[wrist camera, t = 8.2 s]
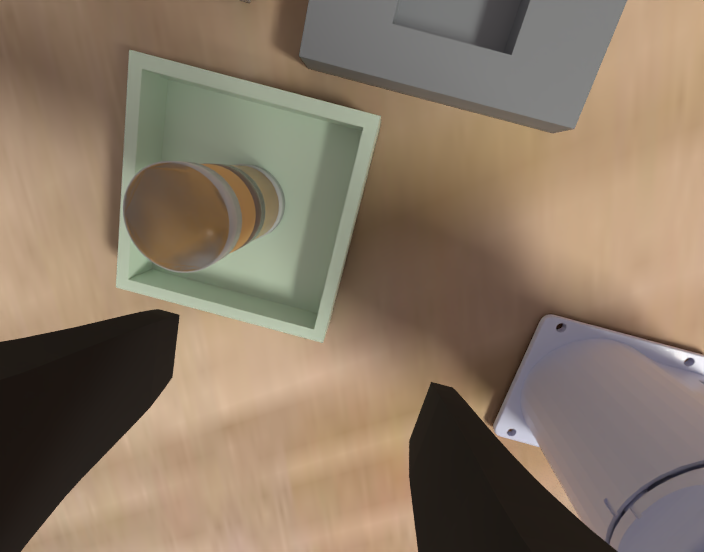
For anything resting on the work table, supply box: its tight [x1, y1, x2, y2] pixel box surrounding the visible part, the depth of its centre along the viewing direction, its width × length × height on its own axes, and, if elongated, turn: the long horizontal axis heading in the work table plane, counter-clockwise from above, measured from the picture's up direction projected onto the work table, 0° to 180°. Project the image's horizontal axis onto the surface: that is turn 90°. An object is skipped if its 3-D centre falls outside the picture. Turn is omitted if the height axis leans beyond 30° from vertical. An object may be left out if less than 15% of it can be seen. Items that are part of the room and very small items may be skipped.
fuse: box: [123, 161, 285, 273], centre depth 15 cm, size 4×4×7 cm
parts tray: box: [116, 50, 381, 343], centre depth 18 cm, size 11×11×2 cm
